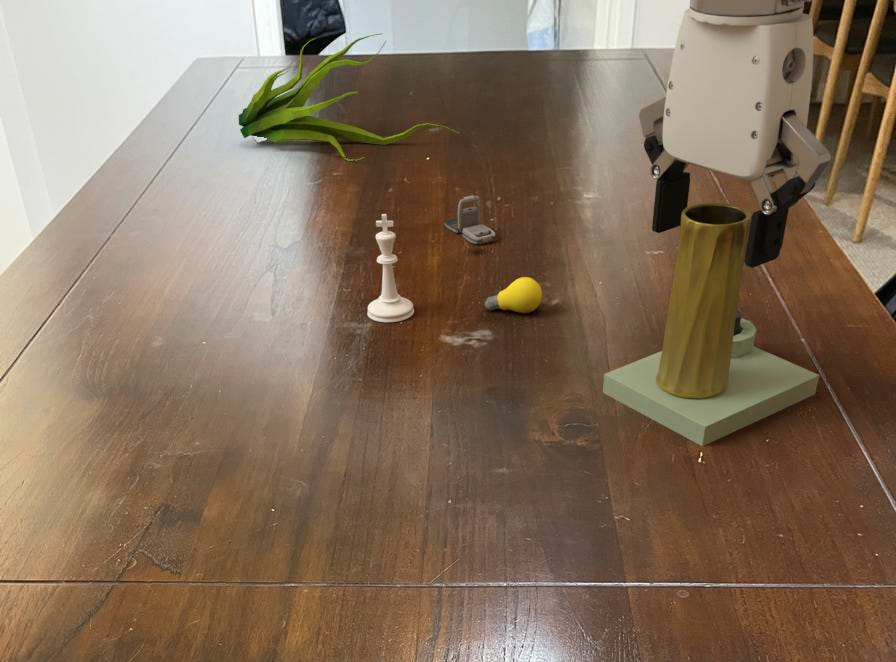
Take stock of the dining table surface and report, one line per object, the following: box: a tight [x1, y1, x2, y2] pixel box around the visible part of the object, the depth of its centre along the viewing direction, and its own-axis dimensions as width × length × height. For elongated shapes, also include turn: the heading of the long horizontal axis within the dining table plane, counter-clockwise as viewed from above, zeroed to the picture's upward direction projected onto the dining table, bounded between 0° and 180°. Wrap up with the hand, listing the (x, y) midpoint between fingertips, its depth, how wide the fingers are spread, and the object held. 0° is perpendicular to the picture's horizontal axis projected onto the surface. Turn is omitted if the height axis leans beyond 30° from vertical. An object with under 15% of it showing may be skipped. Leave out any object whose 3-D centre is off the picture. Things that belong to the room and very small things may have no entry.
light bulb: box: [484, 276, 543, 314], centre depth 104 cm, size 3×6×4 cm, turn 84°
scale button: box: [733, 309, 743, 336], centre depth 91 cm, size 3×3×2 cm
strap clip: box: [443, 194, 497, 245], centre depth 120 cm, size 8×3×4 cm, turn 27°
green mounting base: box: [602, 317, 820, 447], centre depth 88 cm, size 15×12×4 cm
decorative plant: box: [238, 33, 460, 162], centre depth 146 cm, size 18×30×15 cm, turn 49°
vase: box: [656, 201, 752, 399], centre depth 82 cm, size 6×6×14 cm
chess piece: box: [366, 213, 415, 323], centre depth 102 cm, size 5×5×10 cm
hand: (713, 244), depth 79 cm, fingers open, 9 cm apart
